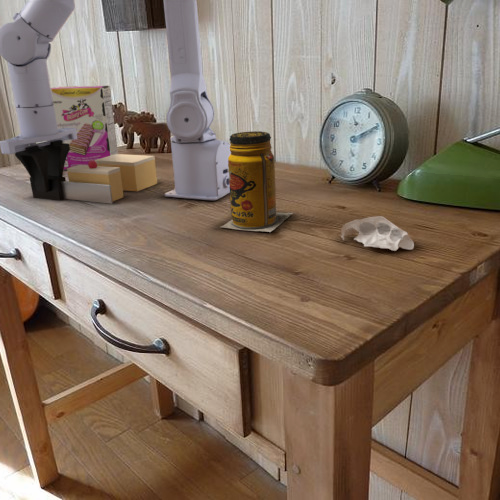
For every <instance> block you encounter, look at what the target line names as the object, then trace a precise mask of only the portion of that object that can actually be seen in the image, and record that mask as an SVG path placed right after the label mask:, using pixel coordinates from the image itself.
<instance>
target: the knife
mask: <svg viewBox="0 0 500 500" xmlns="http://www.w3.org/2000/svg"><path fill="white" fill-rule="evenodd" d="M48 178H49V192H38V191H37V189H36V187H35V185H34V183H33V181H32V179H31V177H29V182H30V187H31V192H32V197H33V199H34V198H35V199H44V200H54V201H61V200H70V201H81V202H90V203H91V202H92V203H102V204H110V205H112V204H114V201H113V200H112V193H111V185H106V184H94V183H81V182H69V180H66V176H63V177H61V176H48Z"/></svg>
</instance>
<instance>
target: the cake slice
mask: <svg viewBox="0 0 500 500" xmlns="http://www.w3.org/2000/svg"><path fill="white" fill-rule="evenodd" d="M66 172H67V178H68V181H69V182H81V183H94V184H106V185H111V193H112V200H113V202H115V201H118V200H121V199H122V198H124V190H123V189H122V181H121V173H120V167H106V166H97V163H96V162H95V161H93V160H92V161H90V162H89V163H88V165H77V166H74V167H70V168H67V170H66Z"/></svg>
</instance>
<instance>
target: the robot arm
mask: <svg viewBox="0 0 500 500" xmlns="http://www.w3.org/2000/svg"><path fill="white" fill-rule="evenodd" d="M75 2H76V1H75V0H27V1H26V2H25V4H24V5H23V7H22V8H21V10H20V11H19V12H15V13H14V15H13V16H12V19H13V20H14V21H13V22H7V23H4V24H2V25H1V26H0V56H1V57H2V58H3V59H4V60H5V61H6V62H7V68H8V74H9V79H10V86H11V90H12V96H13V100H14V106H15V111H16V116H17V121H18V127H19V132H20V133H18V135H17V136H14V137H11V138H8V139H3V140H0V153H1V154H2V155H14V156H15V157H16V159H17V160H18V161H19V162H20V163H21V164H22V166H23V167H24V168H25V170H26V171H27V173H28V175H29V176H30V177H31V179H32V181H33V183H34V185H35V187H36V189H37V191H38V192H49V178H48V176H61V177H64V164H65V161H66V157H67V155H68V152H69V150H70V146H69V144H67V143H63V141H67V140H75V139H77V133H76V128H62V129H58V127H57V121H56V115H55V109H54V105H53V104H54V103H53V97H52V91H51V88H52V86H51V79H50V74H49V69H48V59H49V57H50V55H51V51H52V45H51V43H52V42H53V41H54V40H55V38H56V37H57V35H58V34H59V33H60V31H61V30H62V28H63V27H64V26H65V24H66V23H67V22H68V20H69V19H70V17H71V16H72V14H73V13H74V11H75V10H76V3H75ZM163 10H164V20H165V29H166V39H167V48H168V49H167V50H168V58H169V67H170V68H169V69H170V85H169V99H170V101H169V106H168V108H167V112H166V119H165V120H166V126H167V128H168V130H169V131H170V133H171V136H170V148H171V149H170V150H171V160H172V169H173V180H174V189H171V190H170V191H167V192H165V193H164V197H169V198H178V199H179V198H181V199H190V200H199V201H210V202H211V201H212V202H214V201H217V200H219V199H221V198H223V197H224V196H226V195H229V194H230V188H229V187H230V183H229V172H228V170H229V167H228V157H229V156H230V154H231V151H230V145H231V144H230V142H228V141H227V140H220V139H218V138H217V136H216V133H215V132H214V131H213V130H212V127H211V125H212V124H213V121H214V118H215V108H214V105H213V103H212V101H211V100H210V98H209V96H208V91H207V84H206V81H205V77H204V72H203V60H202V59H203V57H202V48H201V36H200V25H199V23H200V22H199V13H198V12H199V11H198V1H197V0H163ZM30 177H29V178H30Z"/></svg>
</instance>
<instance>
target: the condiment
mask: <svg viewBox="0 0 500 500" xmlns="http://www.w3.org/2000/svg"><path fill="white" fill-rule="evenodd" d="M271 139H272V136H271V134H270V132H266V131H262V130H261V131H259V130H257V131H253V130H252V131H241V132H236V133H235V132H234V133H231V135H230V136H229V144H230V151H231V154H230V156H229V157H228V167H229V170H228V172H229V183H230V187H229V188H230V193H229V200H230V201H229V202H230V214H231V220H229V221H227V223H225V224H223V225H221V228H223V229H231V230H239V231H247V232H249V231H250V232H267V233H268V232H269V233H271V232H273V231H274V230H276V229H277V228H278V227H280V225H282V224H283V223H284V222H285V220H287V219H289V217H290V216H291V215H293V212H277V198H276V196H277V195H276V193H277V192H276V167H275V163H276V162H275V155H274V154H273V151H272V144H271Z"/></svg>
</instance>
